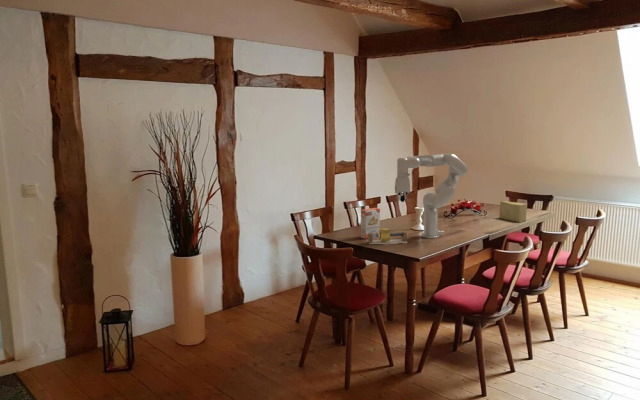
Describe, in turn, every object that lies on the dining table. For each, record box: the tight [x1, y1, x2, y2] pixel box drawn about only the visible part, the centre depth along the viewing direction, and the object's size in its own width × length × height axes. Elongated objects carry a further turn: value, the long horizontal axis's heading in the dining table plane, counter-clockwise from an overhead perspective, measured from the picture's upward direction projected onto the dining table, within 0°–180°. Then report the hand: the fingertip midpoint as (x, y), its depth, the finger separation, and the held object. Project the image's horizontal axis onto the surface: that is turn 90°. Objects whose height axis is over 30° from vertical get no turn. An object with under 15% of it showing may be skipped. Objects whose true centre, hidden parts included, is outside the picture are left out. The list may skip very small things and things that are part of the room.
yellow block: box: [378, 227, 391, 241], centre depth 335 cm, size 6×7×8 cm
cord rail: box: [367, 231, 408, 245], centre depth 335 cm, size 26×9×8 cm, turn 96°
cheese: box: [498, 200, 528, 223], centre depth 401 cm, size 22×10×15 cm, turn 33°
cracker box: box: [360, 207, 381, 240], centre depth 351 cm, size 14×6×21 cm, turn 126°
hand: (402, 201), depth 341 cm, fingers closed
